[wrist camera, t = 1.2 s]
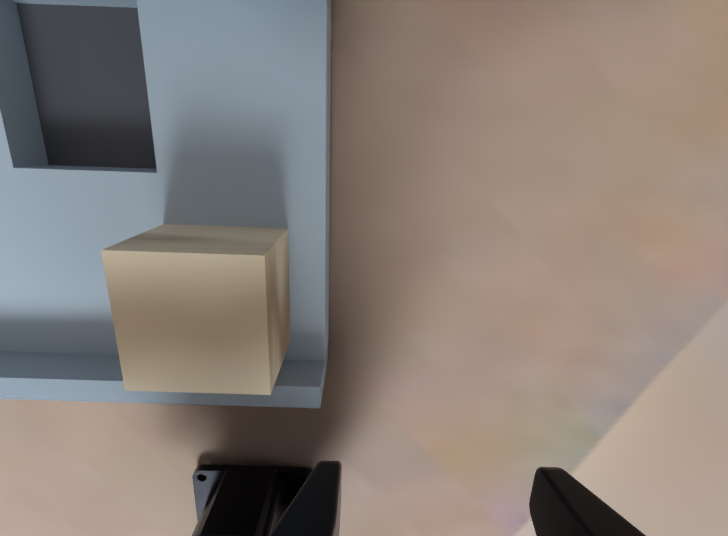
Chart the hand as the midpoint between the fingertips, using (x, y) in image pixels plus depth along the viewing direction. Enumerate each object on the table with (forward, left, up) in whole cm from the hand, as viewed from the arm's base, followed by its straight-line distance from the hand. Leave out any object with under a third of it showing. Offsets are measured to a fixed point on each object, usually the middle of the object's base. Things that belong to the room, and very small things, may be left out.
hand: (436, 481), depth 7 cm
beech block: (0, +7, -10) cm, 12 cm away
